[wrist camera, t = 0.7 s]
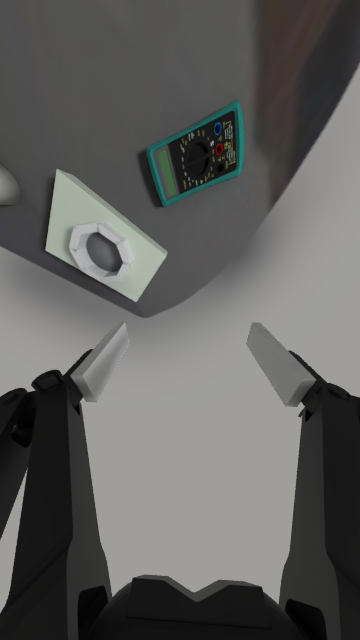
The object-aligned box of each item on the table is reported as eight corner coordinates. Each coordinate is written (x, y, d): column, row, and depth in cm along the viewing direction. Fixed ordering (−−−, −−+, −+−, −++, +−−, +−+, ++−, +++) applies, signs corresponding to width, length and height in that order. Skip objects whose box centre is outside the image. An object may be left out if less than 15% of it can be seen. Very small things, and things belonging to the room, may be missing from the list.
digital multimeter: (239, 175, 24) (246, 171, 22) (163, 208, 27) (161, 207, 24) (237, 106, 20) (245, 92, 17) (146, 153, 22) (142, 146, 20)
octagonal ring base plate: (73, 175, 23) (41, 163, 18) (167, 251, 31) (165, 259, 26) (59, 246, 30) (32, 253, 25) (139, 294, 38) (133, 308, 32)
